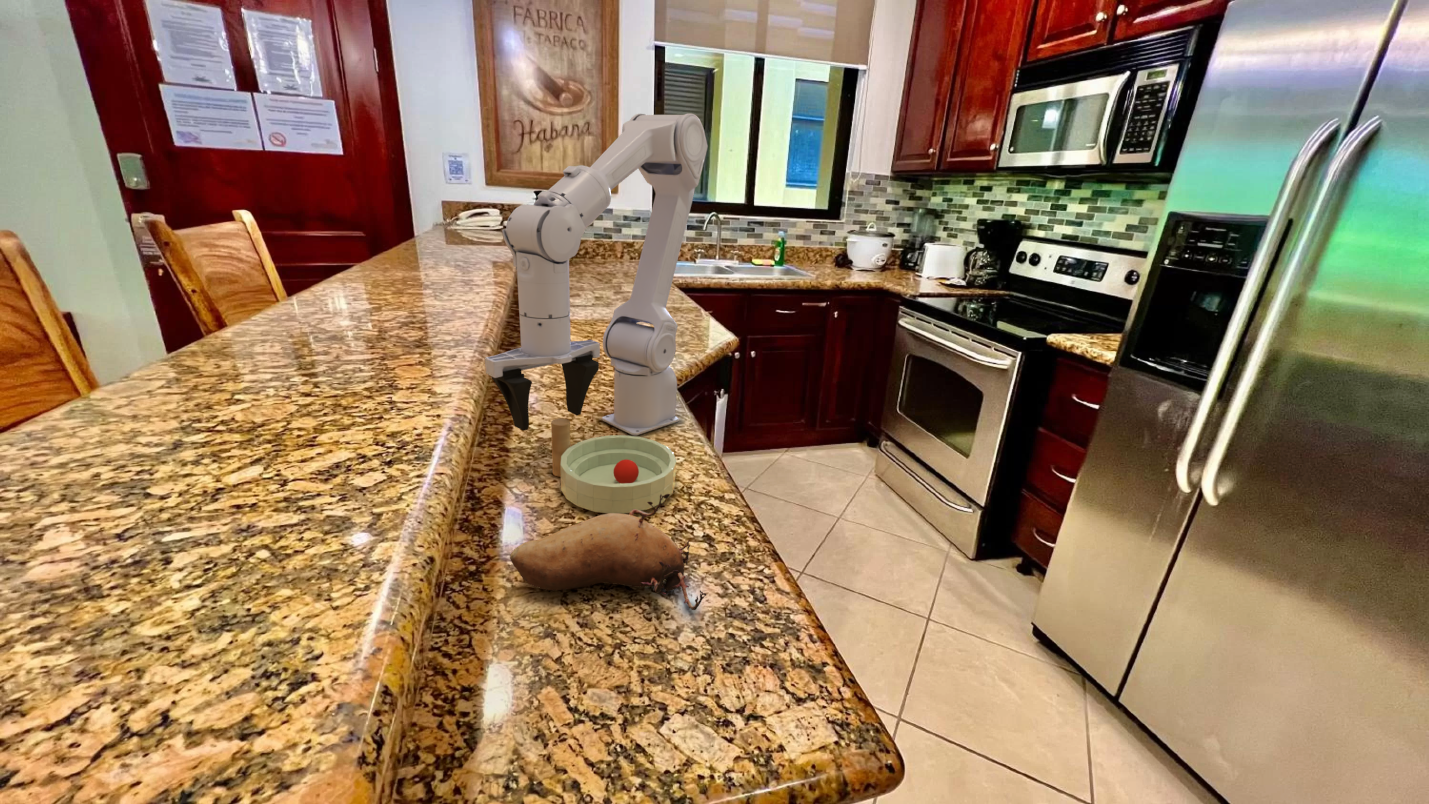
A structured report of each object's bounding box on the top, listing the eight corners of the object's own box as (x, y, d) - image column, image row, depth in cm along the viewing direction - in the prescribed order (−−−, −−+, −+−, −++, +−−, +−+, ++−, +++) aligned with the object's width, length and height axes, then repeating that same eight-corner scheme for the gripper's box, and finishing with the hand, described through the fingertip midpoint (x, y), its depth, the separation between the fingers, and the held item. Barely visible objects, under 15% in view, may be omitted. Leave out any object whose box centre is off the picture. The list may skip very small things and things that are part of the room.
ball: (646, 467, 67) (627, 452, 67) (638, 472, 64) (618, 456, 64) (633, 486, 68) (614, 471, 68) (624, 492, 65) (604, 476, 65)
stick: (574, 470, 70) (573, 419, 67) (565, 478, 68) (564, 426, 65) (558, 467, 70) (556, 416, 68) (549, 475, 68) (547, 423, 66)
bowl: (625, 453, 75) (626, 426, 74) (696, 490, 67) (698, 461, 66) (538, 484, 66) (537, 454, 64) (609, 533, 58) (609, 499, 56)
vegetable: (496, 635, 40) (505, 494, 41) (510, 602, 50) (517, 491, 51) (709, 622, 44) (710, 495, 45) (681, 594, 54) (683, 491, 56)
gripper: (505, 328, 57) (512, 446, 62) (615, 313, 67) (614, 415, 72) (472, 315, 61) (481, 426, 66) (580, 303, 72) (582, 400, 76)
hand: (548, 419), depth 69 cm, fingers open, 7 cm apart
